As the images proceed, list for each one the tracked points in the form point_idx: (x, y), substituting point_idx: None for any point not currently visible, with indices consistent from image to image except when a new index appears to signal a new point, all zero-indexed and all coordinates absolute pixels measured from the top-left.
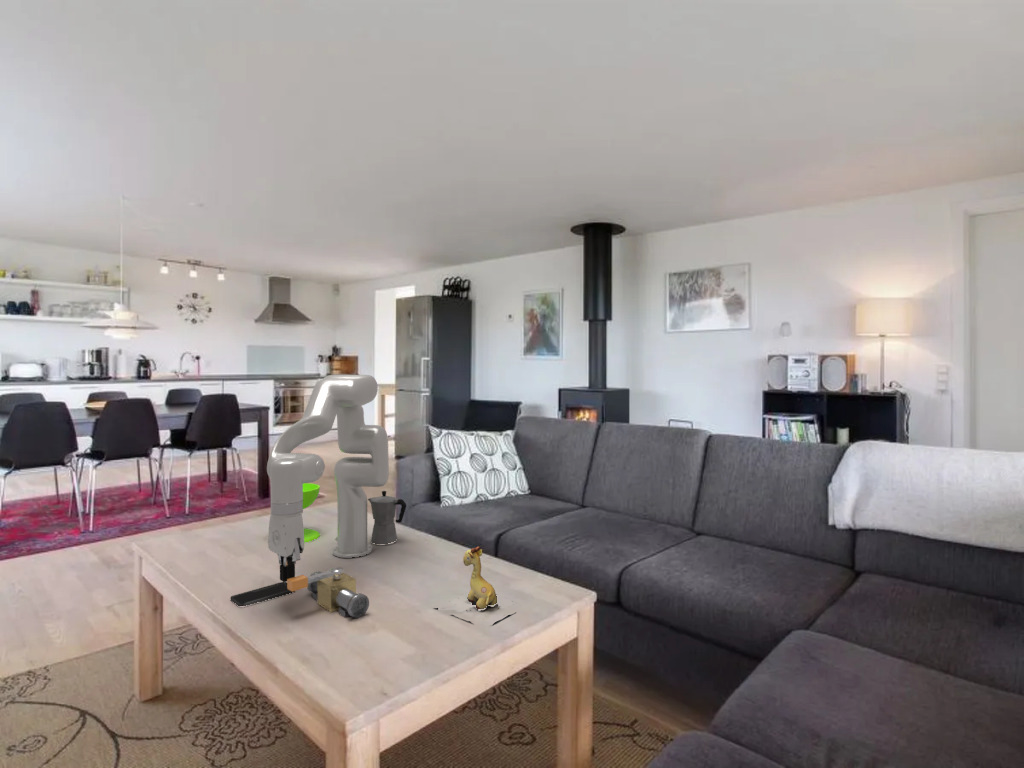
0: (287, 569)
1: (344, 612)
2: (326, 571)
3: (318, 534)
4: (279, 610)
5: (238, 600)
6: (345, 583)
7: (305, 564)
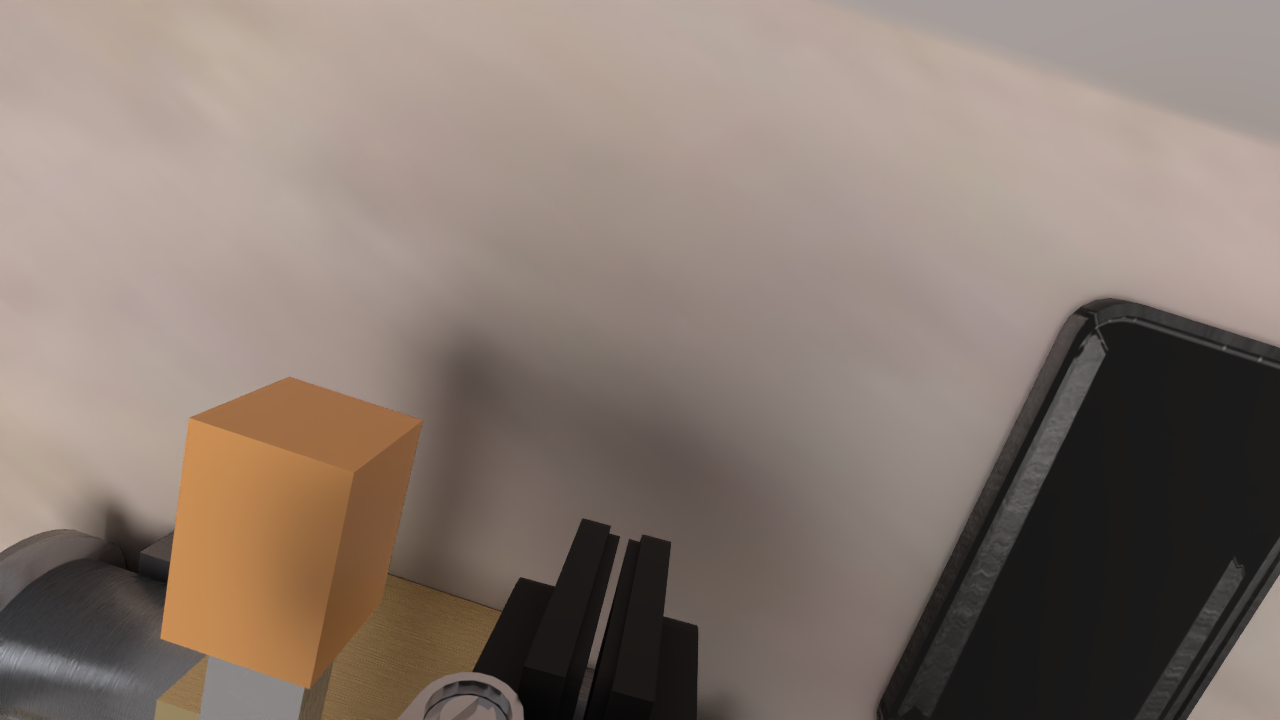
0: (478, 663)
1: (150, 550)
2: None
3: None
4: (707, 413)
5: (1223, 371)
6: None
7: None
